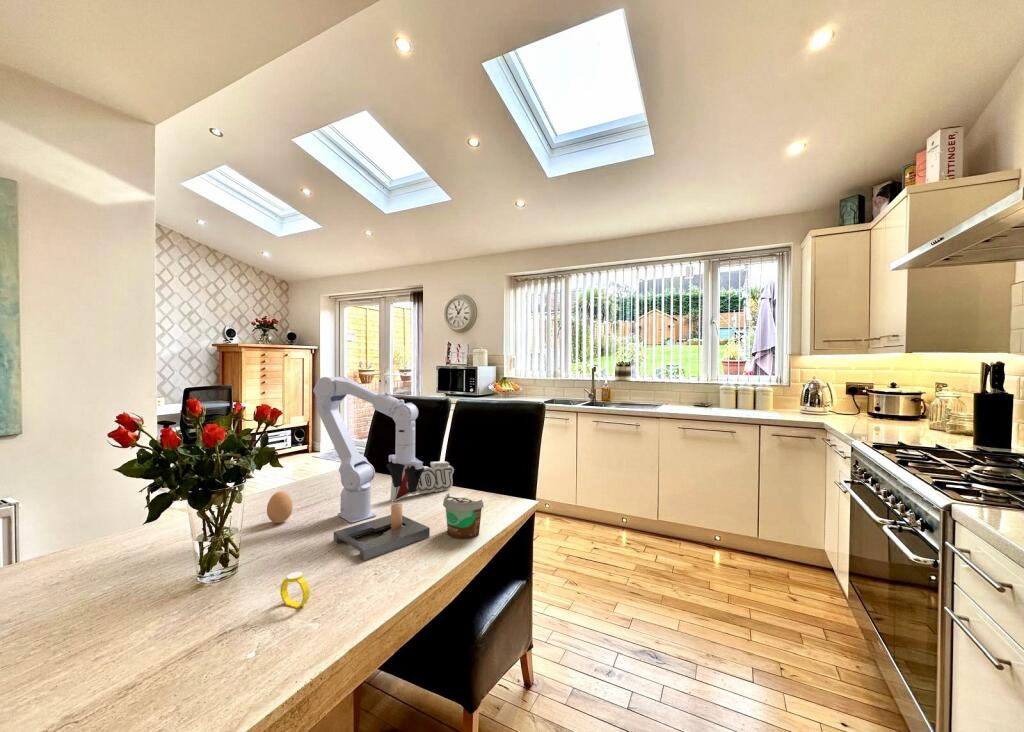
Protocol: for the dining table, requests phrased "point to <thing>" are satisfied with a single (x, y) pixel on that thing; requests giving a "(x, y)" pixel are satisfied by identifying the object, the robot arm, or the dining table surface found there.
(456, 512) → the food container
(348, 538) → the keyhole plate
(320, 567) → the dining table surface
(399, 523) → the peg
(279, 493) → the egg
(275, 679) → the dining table surface
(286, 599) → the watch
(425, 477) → the decorative sign
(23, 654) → the dining table surface
